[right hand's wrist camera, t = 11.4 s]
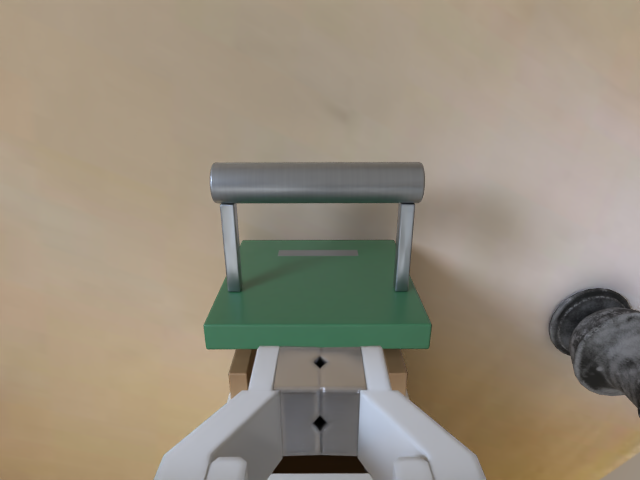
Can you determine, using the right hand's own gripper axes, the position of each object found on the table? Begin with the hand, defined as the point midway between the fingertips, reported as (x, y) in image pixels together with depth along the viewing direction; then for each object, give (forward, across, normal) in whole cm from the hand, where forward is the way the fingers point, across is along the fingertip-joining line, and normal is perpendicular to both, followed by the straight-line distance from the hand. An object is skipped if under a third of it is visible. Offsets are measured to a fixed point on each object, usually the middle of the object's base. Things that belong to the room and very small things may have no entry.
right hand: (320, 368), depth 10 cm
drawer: (+15, 0, -8) cm, 17 cm away
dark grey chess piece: (+16, +18, -9) cm, 26 cm away
